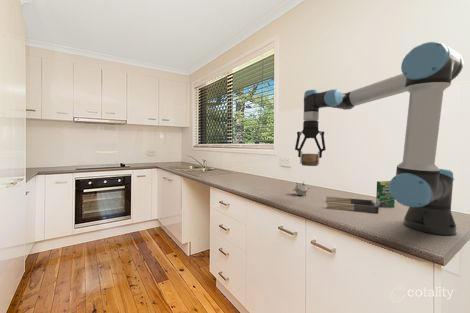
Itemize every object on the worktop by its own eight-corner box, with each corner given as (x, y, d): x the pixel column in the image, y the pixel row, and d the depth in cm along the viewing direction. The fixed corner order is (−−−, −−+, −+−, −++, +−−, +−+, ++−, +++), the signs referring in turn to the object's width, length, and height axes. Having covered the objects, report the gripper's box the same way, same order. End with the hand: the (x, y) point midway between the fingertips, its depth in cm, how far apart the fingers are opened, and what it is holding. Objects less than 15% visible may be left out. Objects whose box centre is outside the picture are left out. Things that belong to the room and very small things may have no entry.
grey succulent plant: (303, 202, 135) (310, 191, 129) (290, 196, 136) (296, 185, 130) (305, 192, 142) (312, 181, 136) (292, 187, 143) (298, 176, 137)
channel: (378, 213, 102) (378, 207, 102) (326, 208, 110) (327, 202, 110) (372, 206, 115) (372, 200, 114) (326, 201, 122) (326, 196, 122)
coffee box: (378, 207, 112) (380, 181, 112) (375, 205, 115) (376, 180, 114) (394, 207, 112) (396, 181, 112) (390, 205, 115) (392, 180, 114)
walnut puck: (318, 166, 114) (318, 154, 113) (301, 165, 116) (302, 154, 116) (316, 164, 121) (317, 153, 121) (301, 164, 124) (301, 153, 123)
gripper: (332, 120, 117) (330, 163, 118) (291, 121, 124) (290, 162, 125) (332, 119, 110) (331, 165, 111) (289, 120, 117) (288, 163, 118)
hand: (309, 163), depth 118 cm, fingers closed on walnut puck, 8 cm apart
